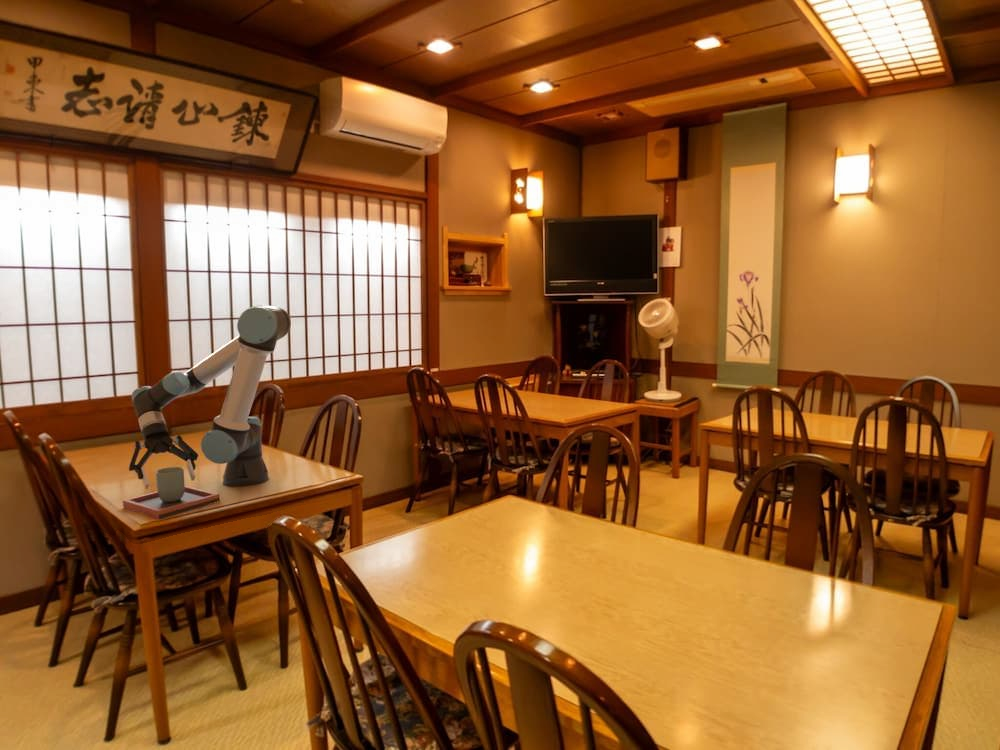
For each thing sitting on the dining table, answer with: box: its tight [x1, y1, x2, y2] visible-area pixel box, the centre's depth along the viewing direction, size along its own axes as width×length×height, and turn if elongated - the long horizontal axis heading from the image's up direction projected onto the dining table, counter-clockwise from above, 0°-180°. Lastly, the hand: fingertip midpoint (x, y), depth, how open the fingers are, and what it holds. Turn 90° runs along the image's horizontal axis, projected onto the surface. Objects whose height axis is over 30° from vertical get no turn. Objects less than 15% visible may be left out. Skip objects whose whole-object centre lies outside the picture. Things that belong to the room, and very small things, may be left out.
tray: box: [122, 484, 221, 520], centre depth 210 cm, size 20×20×2 cm
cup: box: [155, 466, 186, 503], centre depth 209 cm, size 8×8×10 cm
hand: (170, 482), depth 208 cm, fingers open, 13 cm apart
